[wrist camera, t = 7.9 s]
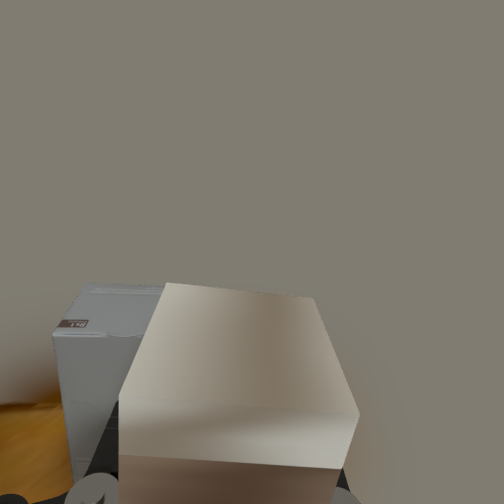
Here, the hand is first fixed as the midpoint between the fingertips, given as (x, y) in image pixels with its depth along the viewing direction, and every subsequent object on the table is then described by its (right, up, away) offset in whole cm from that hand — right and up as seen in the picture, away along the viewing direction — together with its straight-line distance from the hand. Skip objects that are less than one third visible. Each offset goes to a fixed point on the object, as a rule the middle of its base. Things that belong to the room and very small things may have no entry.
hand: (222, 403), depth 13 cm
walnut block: (-1, -7, 0) cm, 7 cm away
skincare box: (-9, -13, +16) cm, 22 cm away
